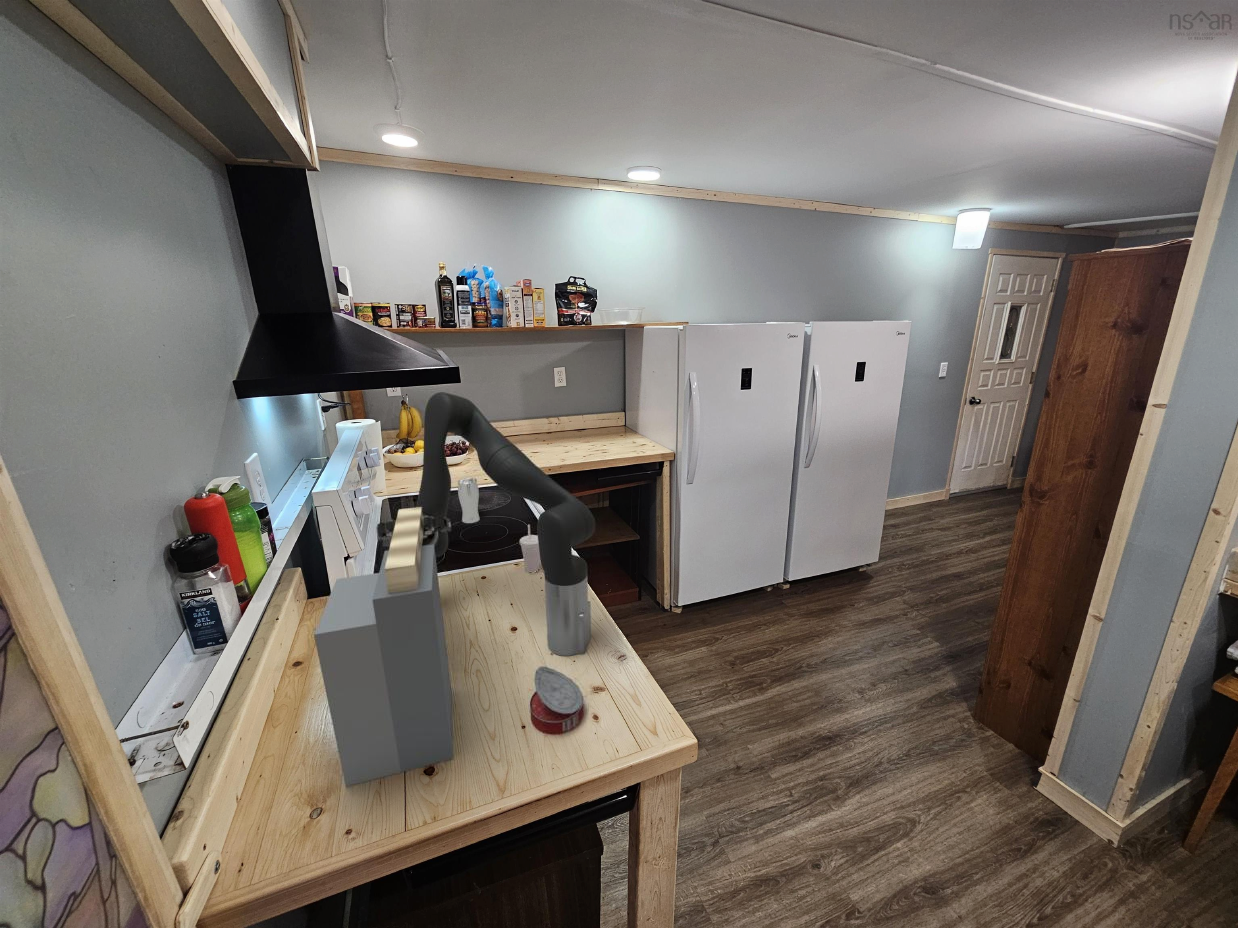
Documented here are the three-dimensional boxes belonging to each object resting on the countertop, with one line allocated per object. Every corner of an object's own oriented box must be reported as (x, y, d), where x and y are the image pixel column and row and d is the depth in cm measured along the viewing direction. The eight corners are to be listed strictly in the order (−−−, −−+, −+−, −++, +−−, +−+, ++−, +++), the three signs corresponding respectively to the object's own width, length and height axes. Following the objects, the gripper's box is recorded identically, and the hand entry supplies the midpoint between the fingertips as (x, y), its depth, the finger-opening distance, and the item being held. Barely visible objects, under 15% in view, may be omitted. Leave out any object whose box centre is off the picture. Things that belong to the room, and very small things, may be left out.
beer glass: (460, 524, 174) (456, 484, 169) (461, 517, 180) (457, 478, 176) (481, 522, 175) (477, 483, 171) (480, 515, 182) (477, 476, 178)
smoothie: (533, 562, 147) (531, 519, 143) (548, 569, 143) (546, 524, 139) (516, 570, 143) (513, 526, 139) (531, 577, 139) (528, 532, 135)
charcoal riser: (361, 712, 92) (332, 557, 82) (451, 692, 97) (434, 544, 87) (345, 786, 77) (308, 609, 68) (452, 758, 82) (431, 590, 73)
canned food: (552, 712, 98) (565, 661, 99) (589, 735, 91) (601, 679, 93) (508, 721, 89) (522, 664, 91) (545, 746, 83) (560, 685, 84)
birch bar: (401, 528, 94) (398, 509, 93) (424, 526, 95) (421, 506, 94) (388, 593, 72) (384, 569, 71) (417, 588, 73) (414, 564, 72)
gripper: (380, 520, 102) (363, 507, 87) (452, 511, 107) (448, 498, 91) (382, 556, 101) (365, 549, 85) (455, 546, 105) (452, 538, 90)
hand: (408, 523), depth 88 cm, fingers open, 5 cm apart
